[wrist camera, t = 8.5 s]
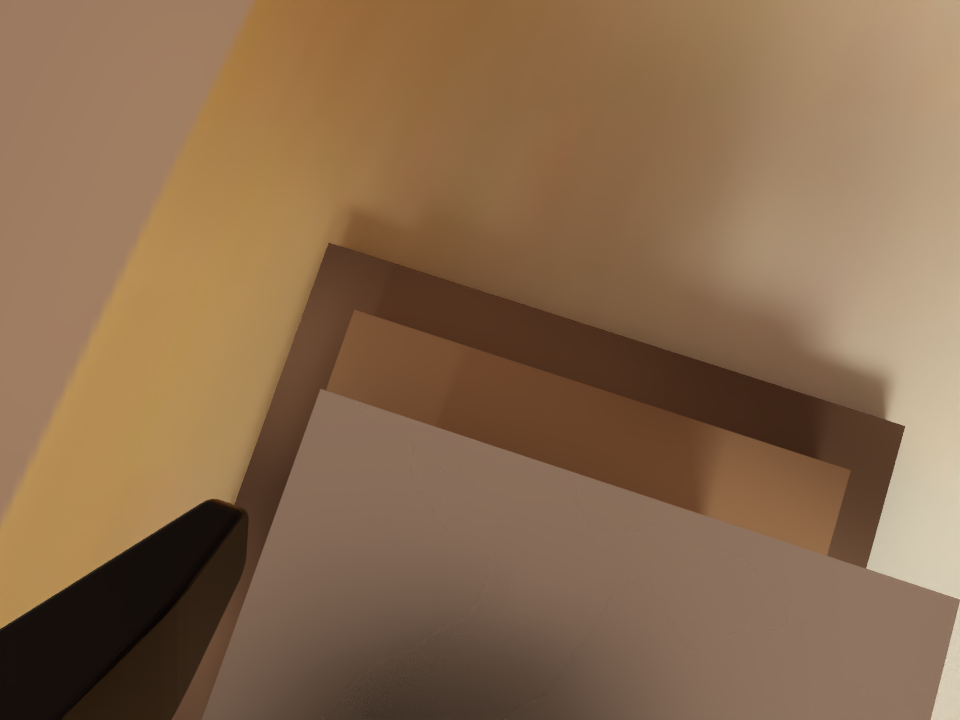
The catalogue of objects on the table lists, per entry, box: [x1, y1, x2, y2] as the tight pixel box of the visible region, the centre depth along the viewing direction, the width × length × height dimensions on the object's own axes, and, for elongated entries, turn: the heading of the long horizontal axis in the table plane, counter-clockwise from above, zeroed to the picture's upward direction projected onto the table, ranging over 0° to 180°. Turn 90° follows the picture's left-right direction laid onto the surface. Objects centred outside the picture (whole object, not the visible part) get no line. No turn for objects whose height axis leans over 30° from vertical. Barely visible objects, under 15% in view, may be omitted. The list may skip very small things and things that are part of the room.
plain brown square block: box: [202, 389, 960, 720], centre depth 12 cm, size 6×6×10 cm
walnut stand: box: [172, 243, 905, 720], centre depth 19 cm, size 13×13×3 cm
